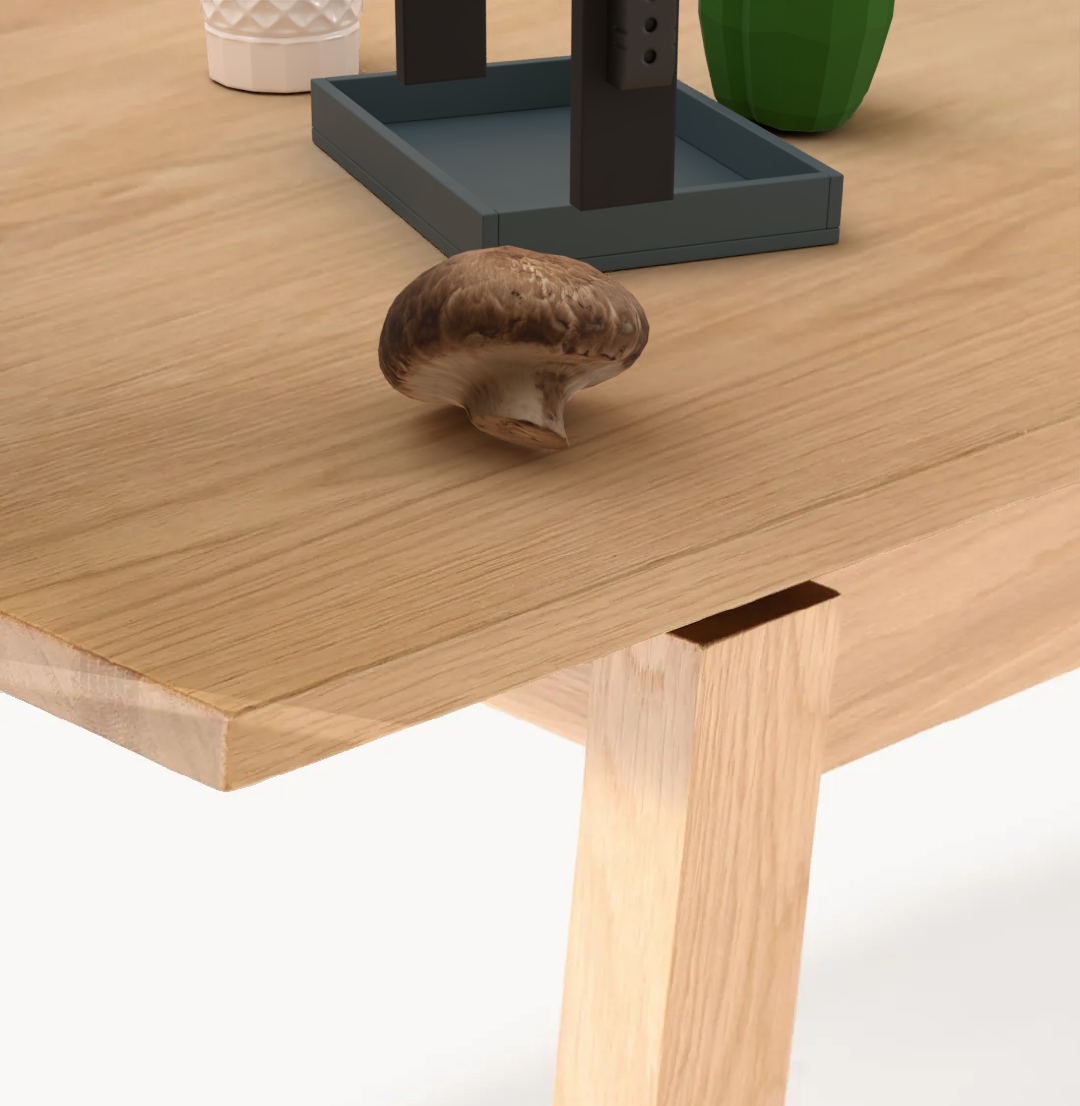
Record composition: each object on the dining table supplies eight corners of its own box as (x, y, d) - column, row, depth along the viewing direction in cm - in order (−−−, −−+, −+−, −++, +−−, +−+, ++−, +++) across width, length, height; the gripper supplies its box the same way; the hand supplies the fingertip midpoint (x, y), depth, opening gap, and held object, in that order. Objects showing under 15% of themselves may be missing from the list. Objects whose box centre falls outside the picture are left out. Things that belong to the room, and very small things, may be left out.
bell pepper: (712, 86, 113) (724, -148, 108) (896, 102, 111) (917, -135, 106) (670, 136, 106) (680, -112, 101) (866, 154, 104) (886, -98, 99)
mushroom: (595, 405, 70) (561, 190, 71) (348, 471, 74) (318, 265, 74) (702, 448, 77) (669, 252, 78) (472, 507, 81) (444, 318, 82)
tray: (482, 287, 89) (482, 214, 87) (311, 141, 104) (309, 78, 103) (839, 243, 94) (844, 174, 92) (625, 110, 109) (627, 49, 108)
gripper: (910, -715, 54) (848, 247, 64) (482, -705, 74) (487, 26, 84) (587, -718, 51) (576, 284, 62) (234, -707, 72) (271, 47, 82)
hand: (524, 136), depth 73 cm, fingers open, 13 cm apart
